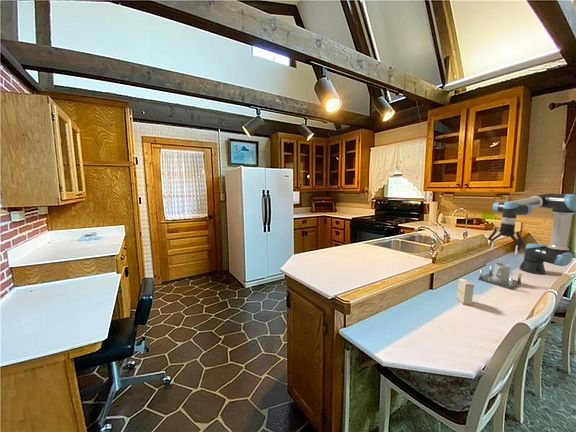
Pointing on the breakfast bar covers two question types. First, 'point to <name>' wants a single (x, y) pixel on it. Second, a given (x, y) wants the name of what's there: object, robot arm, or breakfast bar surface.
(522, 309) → the breakfast bar surface
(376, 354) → the breakfast bar surface
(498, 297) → the breakfast bar surface
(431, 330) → the breakfast bar surface
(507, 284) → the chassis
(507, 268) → the mug
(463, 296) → the supplement box
